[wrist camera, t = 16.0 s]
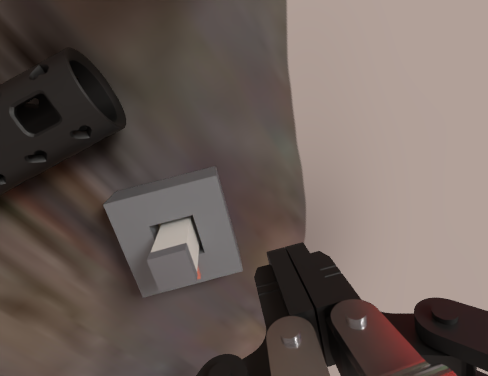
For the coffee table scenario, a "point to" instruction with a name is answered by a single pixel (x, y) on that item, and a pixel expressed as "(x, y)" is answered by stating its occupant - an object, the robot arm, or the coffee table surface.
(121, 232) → the socket
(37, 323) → the coffee table surface
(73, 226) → the coffee table surface
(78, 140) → the muzzle brake
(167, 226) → the plug
